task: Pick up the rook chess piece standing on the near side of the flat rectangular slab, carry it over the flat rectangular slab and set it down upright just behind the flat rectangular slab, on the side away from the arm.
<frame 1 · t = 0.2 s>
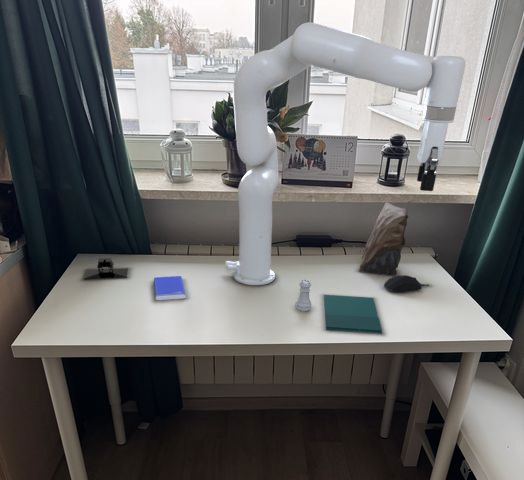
hand: (424, 185, 132), 31 cm above the table, tool pointing down, fingers open, 9 cm apart
gaming mouse: (406, 288, 152), on the table
build plate: (106, 274, 154), on the table
hard drive: (169, 290, 146), on the table
owl: (376, 269, 164), on the table
rook chess piece: (303, 308, 139), on the table
flat rectangular slab: (351, 313, 137), on the table
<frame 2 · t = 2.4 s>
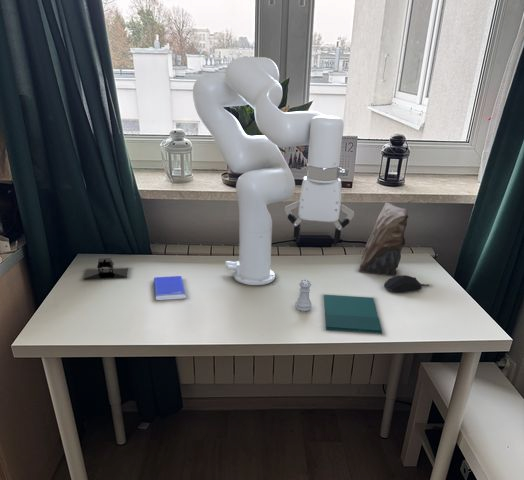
hand: (316, 242, 129), 19 cm above the table, tool pointing down, fingers open, 9 cm apart
nothing on the table moved.
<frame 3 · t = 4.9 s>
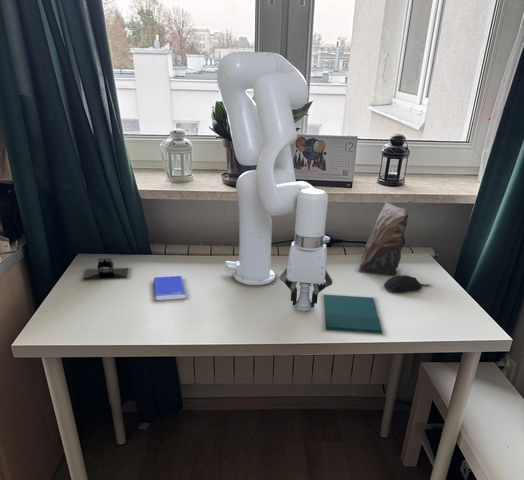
hand: (303, 303, 138), 1 cm above the table, tool pointing down, fingers closed on rook chess piece, 4 cm apart
rook chess piece: (303, 308, 139), on the table, touching gripper
everything else where it was.
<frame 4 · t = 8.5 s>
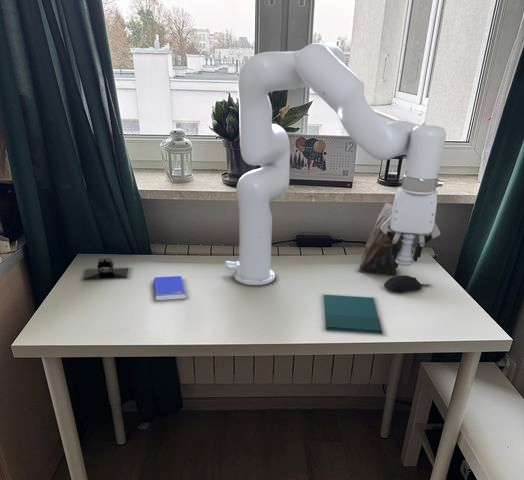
hand: (404, 258, 126), 17 cm above the table, tool pointing down, fingers closed on rook chess piece, 4 cm apart
rook chess piece: (403, 263, 127), point 16 cm above the table, touching gripper
everything else where it was.
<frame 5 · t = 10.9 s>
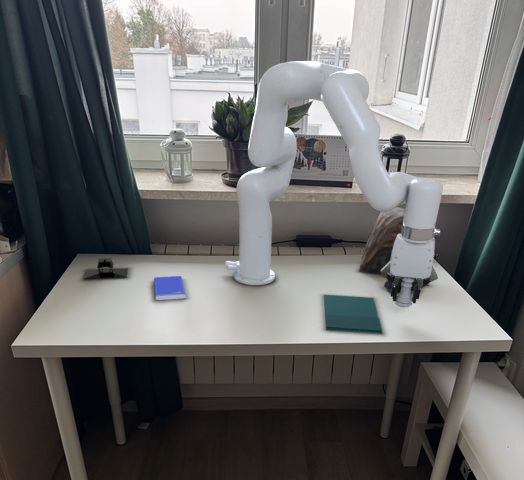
hand: (403, 299, 132), 6 cm above the table, tool pointing down, fingers closed on rook chess piece, 4 cm apart
rook chess piece: (402, 304, 133), point 4 cm above the table, touching gripper
everything else where it was.
when the fingers open (1 cm above the table, at t = 12.4 s): rook chess piece stays where it is, on the table.
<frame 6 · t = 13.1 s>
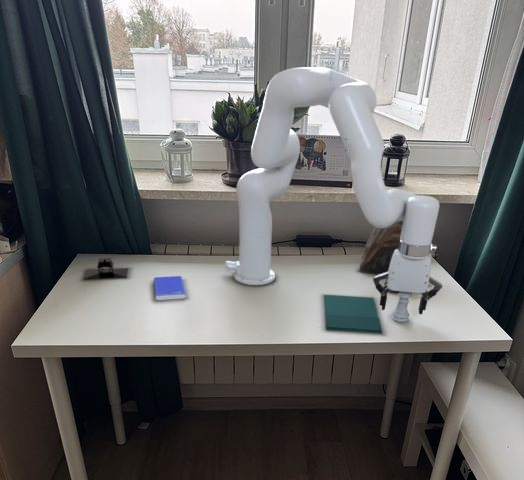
hand: (401, 309, 134), 3 cm above the table, tool pointing down, fingers open, 9 cm apart
rook chess piece: (399, 319, 135), on the table
everything else where it was.
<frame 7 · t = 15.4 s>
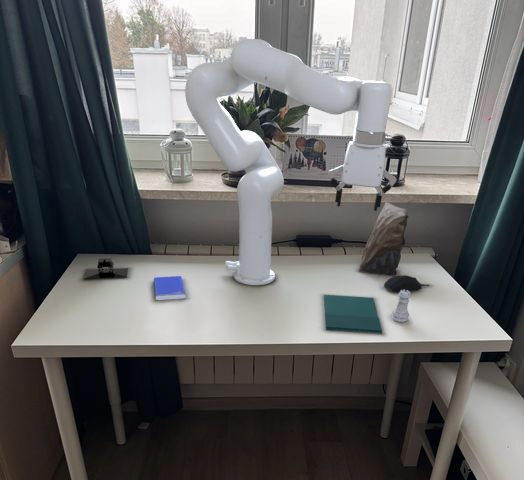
hand: (356, 207, 133), 25 cm above the table, tool pointing down, fingers open, 9 cm apart
nothing on the table moved.
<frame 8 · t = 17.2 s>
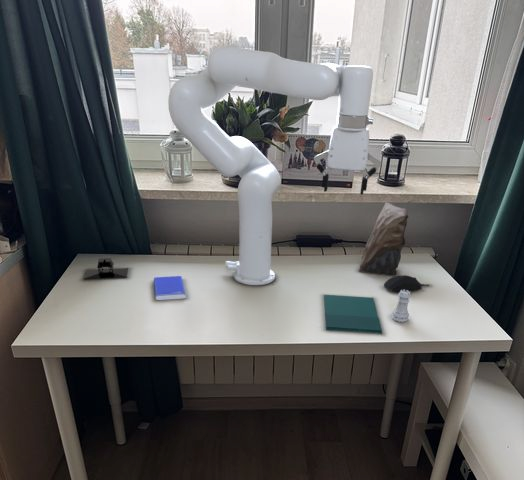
hand: (343, 191, 135), 28 cm above the table, tool pointing down, fingers open, 9 cm apart
nothing on the table moved.
at the end: rook chess piece inside the target area (0.9 cm from its centre), on the table; rook chess piece tilted 0°; rook chess piece touching table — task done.
